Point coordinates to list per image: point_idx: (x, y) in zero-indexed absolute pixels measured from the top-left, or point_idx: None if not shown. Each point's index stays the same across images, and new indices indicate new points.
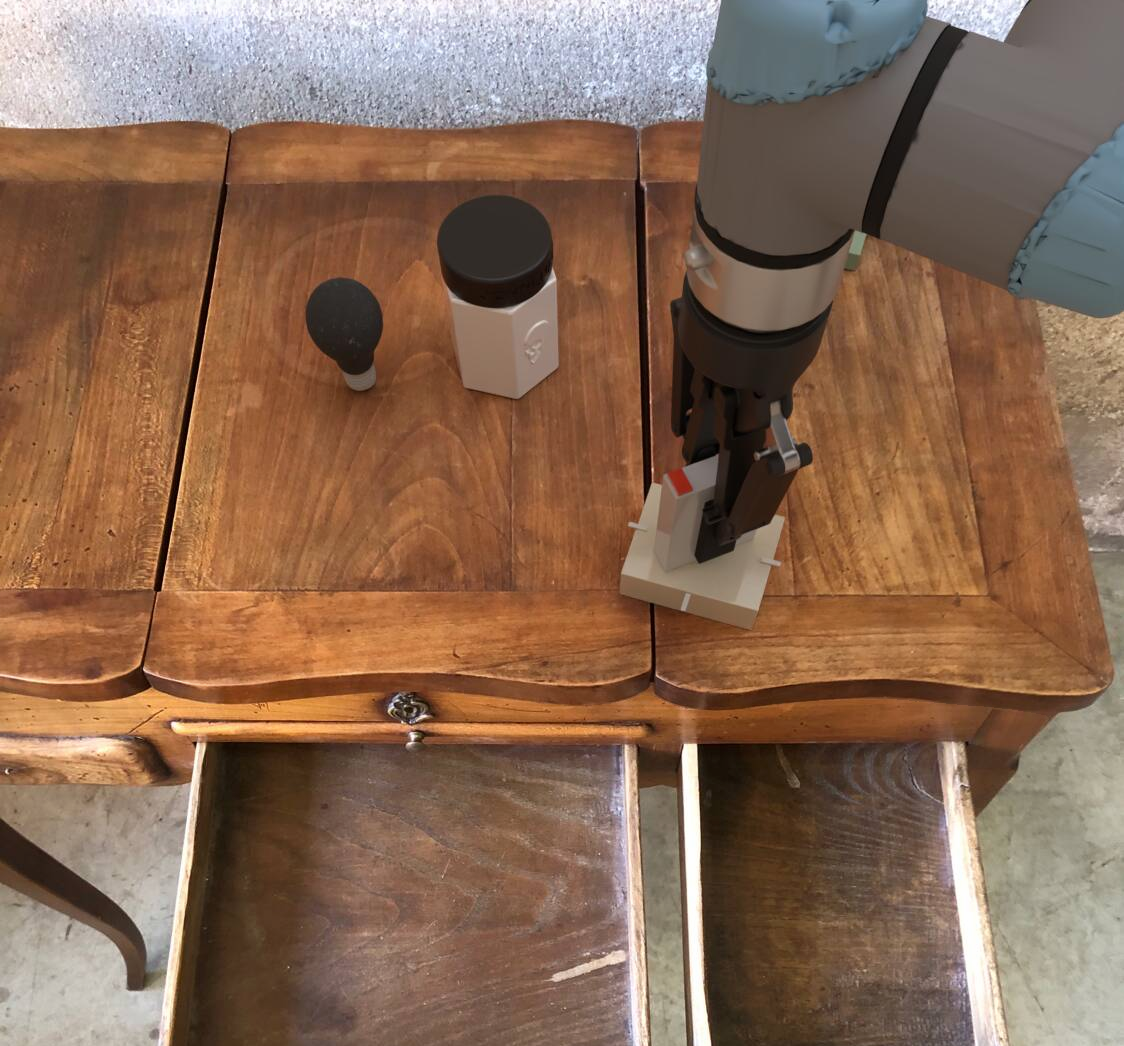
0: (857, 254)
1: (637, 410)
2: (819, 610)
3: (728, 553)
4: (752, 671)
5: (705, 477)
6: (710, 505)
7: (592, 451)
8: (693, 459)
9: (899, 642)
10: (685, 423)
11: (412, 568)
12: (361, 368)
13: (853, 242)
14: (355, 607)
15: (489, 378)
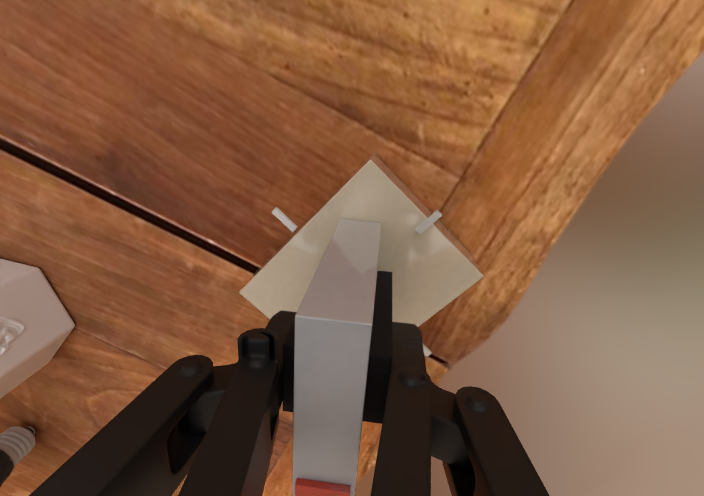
0: None
1: (121, 214)
2: (499, 160)
3: (383, 263)
4: (518, 280)
5: (333, 456)
6: (372, 416)
7: (164, 288)
8: (276, 425)
9: (616, 79)
10: (198, 445)
11: None
12: (5, 471)
13: None
14: None
15: (40, 360)
